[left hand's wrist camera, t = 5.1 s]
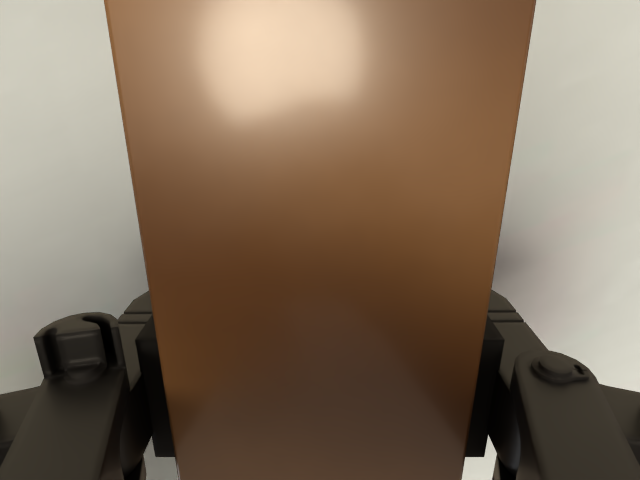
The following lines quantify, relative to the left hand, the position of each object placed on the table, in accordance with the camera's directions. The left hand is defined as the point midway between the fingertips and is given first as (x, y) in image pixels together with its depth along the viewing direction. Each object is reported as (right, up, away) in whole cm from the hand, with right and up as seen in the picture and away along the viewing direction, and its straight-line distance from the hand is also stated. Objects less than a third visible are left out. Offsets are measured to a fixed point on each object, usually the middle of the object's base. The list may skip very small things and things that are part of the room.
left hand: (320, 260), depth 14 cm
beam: (0, +30, -11) cm, 32 cm away
